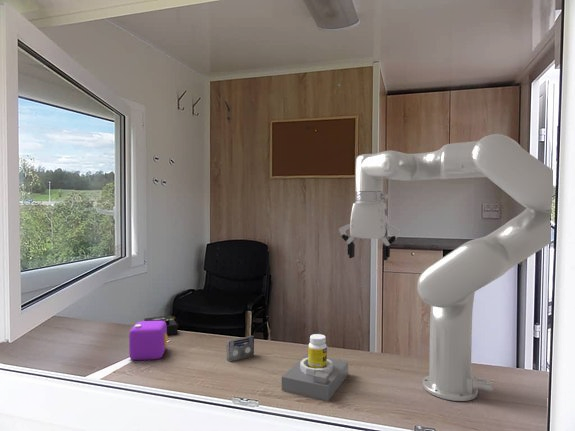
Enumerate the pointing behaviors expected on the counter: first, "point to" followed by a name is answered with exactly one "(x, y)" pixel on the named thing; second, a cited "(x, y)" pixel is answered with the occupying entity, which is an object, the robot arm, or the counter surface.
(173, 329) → the battery charger
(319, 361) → the supplement bottle
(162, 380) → the counter surface
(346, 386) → the counter surface
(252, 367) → the counter surface
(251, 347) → the mini dv tape
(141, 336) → the toy camera
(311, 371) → the grey ring holder base
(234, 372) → the counter surface
